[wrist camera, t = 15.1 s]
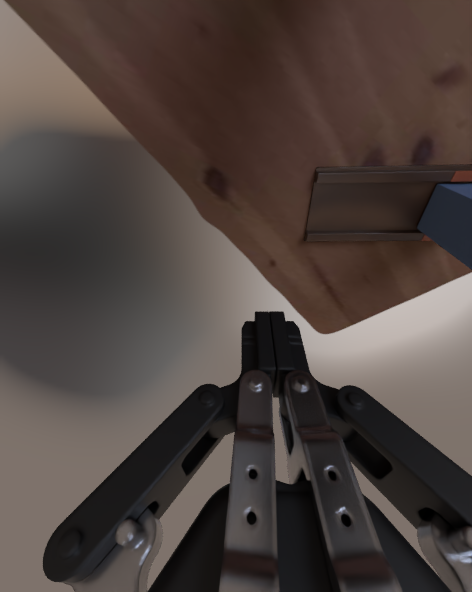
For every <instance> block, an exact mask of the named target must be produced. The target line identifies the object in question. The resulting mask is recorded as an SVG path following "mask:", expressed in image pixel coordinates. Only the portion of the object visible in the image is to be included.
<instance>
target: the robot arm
mask: <svg viewBox="0 0 472 592" xmlns="http://www.w3.org/2000/svg"><path fill="white" fill-rule="evenodd" d="M272 394H273V397H279V404H280V408H279V417H280V423H281V428H282V433H283V438H284V443H285V448H286V454H287V467H288V476H289V482H290V484H286V483H283V482H280V481H277V480H275V443H274V442H275V441H274V433H273V413H272ZM233 432H235V435H234V445H233V455H232V466H231V477H230V483H229V484H227V485H225V486H223V487H222V488H220V489H219V490H218V491H217V492H215V493H214V494H213V495H212V496H211V498H210V499H209V500H208V501H207V502H206V504H205V505H204V507H203V508H202V510H201V511H200V513H199V515H198V516H197V517H196V519H195V521H194V522H193V524H192V525H191V527H190V528H189V530H188V531H187V533H186V534H185V536H184V537H183V539H182V540H181V542H180V543H179V545H178V546H177V548H176V549H175V551H174V552H173V554H172V556H171V557H170V559H169V560H168V562H167V563H166V565H165V566H164V568H163V569H162V571H161V572H160V574H159V575H158V577H157V578H156V580H155V581H154V583H153V585H152V586H151V588H150V589H149V590H148V592H472V476H471V475H469V474H468V473H467V472H466V471H464V470H463V469H462V468H461V467H459V466H458V465H457V464H456V463H454V462H453V461H452V460H451V459H449V458H448V457H447V456H445V455H444V454H443V453H442V452H440V451H439V450H438V449H437V448H435V447H434V446H433V445H432V444H430V443H429V442H428V441H426V440H425V439H424V438H423V437H422V436H420V435H419V434H418V433H416V432H415V431H414V430H413V429H412V428H410V427H409V426H408V425H406V424H405V423H404V422H403V421H401V420H400V419H399V418H398V417H396V416H395V415H394V414H392V413H391V412H390V411H389V410H388V409H386V408H385V407H384V406H383V405H381V404H380V403H379V402H378V401H376V400H375V399H374V398H373V397H371V396H370V395H369V394H368V393H366V392H365V391H364V390H362V389H360V388H358V387H356V386H351V385H349V386H344V387H342V388H341V389H340V390H338V389H336V388H332V387H329V386H326V385H323V384H321V383H320V382H318V381H317V380H316V379H315V378H314V377H313V376H312V375H311V373H310V371H309V367H308V363H307V359H306V354H305V351H304V346H303V342H302V339H301V334H300V330H299V328H298V326H297V325H296V324H295V323H294V322H293V321H285V317H284V312H255V321H246V322H245V324H244V325H243V327H242V371H241V374H240V377H239V378H238V379H237V380H236V381H235V382H234V383H232V384H230V385H227V386H224V387H221V388H219V387H218V386H216V385H214V384H204V385H201V386H200V387H198V388H197V389H196V390H195V391H194V392H193V393H192V394H191V395H190V396H189V397H188V398H187V399H186V400H185V401H184V402H183V403H182V404H181V405H180V406H179V407H178V408H177V409H176V410H175V411H174V412H173V413H172V414H171V415H170V416H169V417H168V418H166V419H165V421H163V423H162V424H161V425H159V426H158V428H156V430H154V431H153V432H152V433H151V434H150V435H149V436H148V438H147V439H145V441H143V442H142V443H141V444H140V445H139V446H138V447H137V448H136V449H135V450H134V451H133V452H132V453H131V455H129V456H128V457H127V458H126V459H125V460H124V461H123V462H122V463H121V464H120V465H119V466H118V467H117V468H116V469H115V470H114V471H113V472H112V473H111V474H110V475H109V476H108V477H107V478H106V479H105V480H104V481H103V482H102V483H101V484H100V485H99V486H98V487H97V488H96V489H95V490H94V491H93V492H92V493H91V494H90V495H89V496H88V497H87V498H86V499H85V500H84V501H83V502H82V503H81V504H80V505H79V506H78V507H77V508H76V509H75V510H74V511H73V512H72V513H71V514H70V515H69V516H68V517H67V518H66V519H65V520H64V521H63V522H62V523H61V524H60V525H59V526H58V527H57V529H56V530H55V531H54V533H53V534H52V536H51V537H50V539H49V541H48V543H47V546H46V548H45V552H44V557H43V570H44V573H45V575H46V576H47V578H48V579H50V580H51V581H54V582H63V583H65V584H68V585H71V586H72V587H73V589H74V591H75V592H147V579H148V573H149V570H150V567H151V565H152V563H153V561H154V559H155V557H156V555H157V554H158V552H159V549H160V547H161V544H162V537H163V530H162V525H161V523H160V521H159V519H160V517H161V516H162V515H163V514H164V512H165V511H166V510H167V509H168V507H169V506H170V505H171V503H172V502H173V501H174V500H175V498H176V497H177V496H178V494H179V493H180V492H181V491H182V489H183V488H184V487H185V486H186V484H187V483H188V482H189V481H190V479H191V478H192V477H193V475H194V474H195V473H196V472H197V470H198V469H199V468H200V467H201V465H202V464H203V463H204V462H205V460H206V459H207V458H208V456H209V455H210V454H211V453H212V451H213V450H214V449H215V447H216V446H217V445H218V444H219V442H220V441H221V440H222V439H223V437H224V436H225V435H227V434H230V433H233ZM350 461H351V462H352V463H353V464H354V465H355V466H356V467H357V468H358V469H359V470H360V471H361V472H362V474H363V475H364V476H365V477H366V478H367V479H368V480H369V481H370V482H371V483H372V484H373V485H374V486H375V487H376V488H377V489H378V490H379V491H380V492H381V493H382V494H383V495H384V496H385V497H386V498H387V499H388V500H389V501H390V502H391V503H392V504H393V505H394V506H395V507H396V508H397V510H399V512H400V513H402V515H403V516H404V517H405V518H406V519H407V520H408V521H409V522H410V523H411V524H412V525H413V526H414V527H415V528H416V529H417V537H418V542H419V545H420V547H421V550H422V552H423V554H424V556H425V557H426V559H427V560H428V561H429V563H430V564H431V565H432V566H433V568H434V569H435V570H436V572H437V573H438V575H439V576H438V575H437V574H436V573H435V572H434V571H433V570H432V569H431V567H430V566H429V565H428V564H427V563H426V562H425V561H424V559H423V558H422V557H421V556H420V555H419V554H418V553H417V552H416V550H415V549H414V548H413V547H412V546H411V545H410V544H409V542H408V541H407V540H406V539H405V538H404V537H403V536H402V535H401V533H400V532H399V531H398V530H397V529H396V528H395V527H394V526H393V524H392V523H391V522H390V521H389V520H388V519H387V518H386V517H385V515H384V514H383V513H382V512H381V511H380V510H379V509H378V508H377V506H376V505H375V504H374V503H372V502H371V501H370V500H369V499H368V498H367V497H366V496H364V495H363V494H362V492H361V490H360V487H359V484H358V481H357V479H356V476H355V473H354V470H353V467H352V465H351V462H350ZM439 577H440V578H439Z"/></svg>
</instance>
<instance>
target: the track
mask: <svg viewBox="0 0 472 592" xmlns="http://www.w3.org/2000/svg"><path fill="white" fill-rule="evenodd" d="M448 183H472V165H420V166H364V167H316V173H315V179H314V185H313V191H312V197H311V203H310V209H309V215H308V221H307V226H306V232H305V238H304V241H307V242H311V241H415V240H421V241H433V240H432V239H430V238H429V237H428V236H426V235H425V234H424V233H422V232H421V231H420V230H418V229H417V226H418V224H419V222H420V220H421V218H422V215H423V213H424V211H425V209H426V207H427V205H428V203H429V200H430V198H431V196H432V194H433V192H434V190H435V188H436V185H437V184H448Z"/></svg>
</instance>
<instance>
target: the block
mask: <svg viewBox="0 0 472 592" xmlns="http://www.w3.org/2000/svg"><path fill="white" fill-rule="evenodd" d="M417 229H418V230H420V231H421V232H422V233H424V234H425V235H426V236H428V237H429V238H430V239H432V240H433V241H434V242H436V243H437V244H438V245H440V246H441V247H442V248H444V249H445V250H446V251H448V252H449V253H450V254H452V255H453V256H454V257H456V258H457V259H458V260H460V261H461V262H462V263H464V264H465V265H466V266H467V267H469V268H470V269H471V270H472V183H448V184H437V185H436V188H435V190H434V192H433V194H432V196H431V198H430V200H429V203H428V205H427V207H426V209H425V211H424V213H423V215H422V218H421V220H420V222H419V224H418V226H417Z"/></svg>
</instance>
